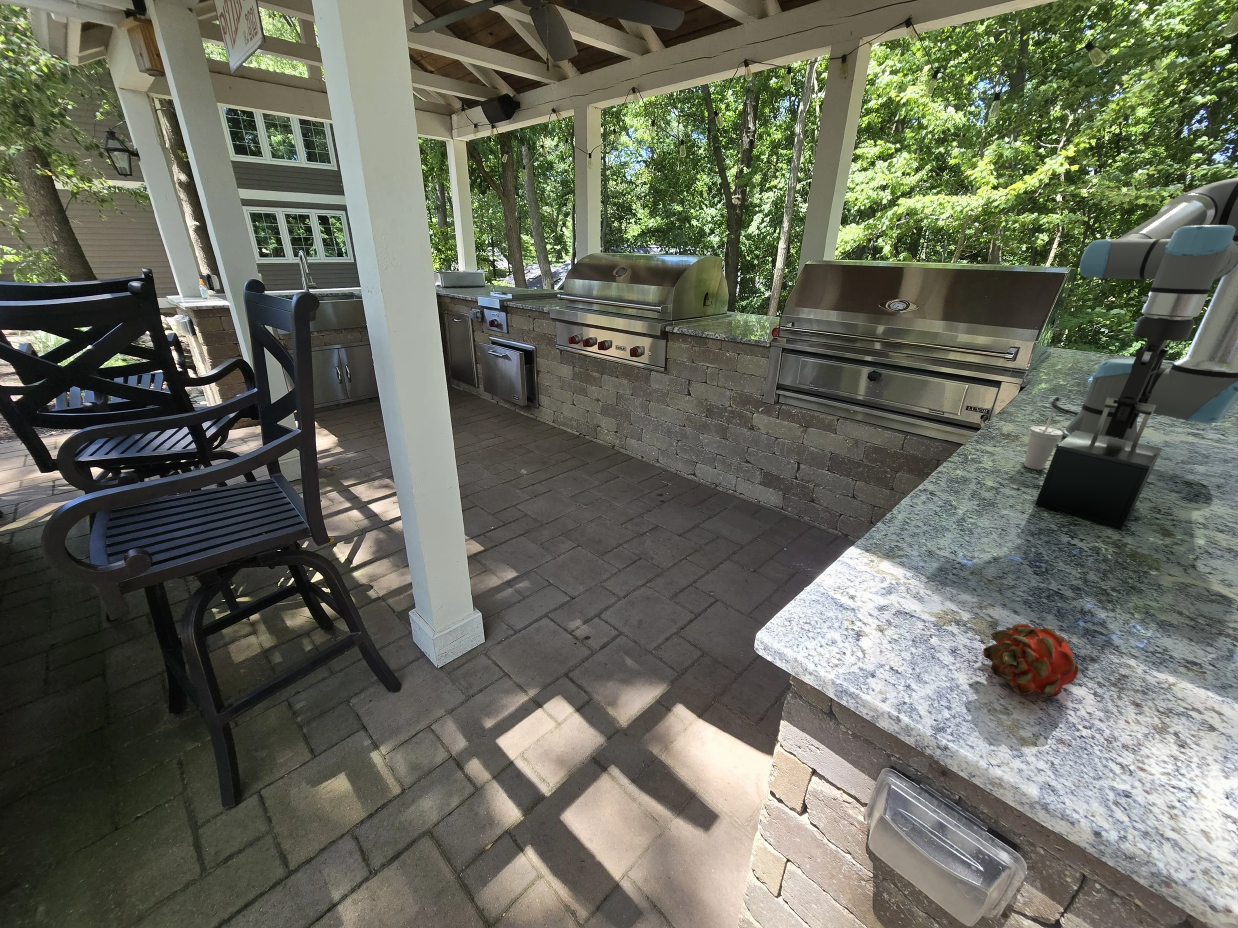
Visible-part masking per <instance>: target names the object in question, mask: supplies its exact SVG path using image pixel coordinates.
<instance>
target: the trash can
mask: <svg viewBox="0 0 1238 928" xmlns="http://www.w3.org/2000/svg"><path fill="white" fill-rule="evenodd" d="M1054 450H1055V451H1054V453H1053V456H1052V459H1051V460H1050V464H1049V467H1048V469H1047V471H1046V475H1045V476H1044V480H1043V482H1042V485H1041V487H1040V490H1039V493H1038V495H1037V498H1036V501H1035V502H1034V503H1035V506H1039V507H1042V508H1044V509H1048V510H1052V511H1055V512H1057V513H1061V514H1065V515H1068V516H1072V517H1076V518H1078V519H1082V520H1084V521H1088V522H1091V523H1095V524H1098V525H1102V526H1104V527H1108V528H1111V529H1115V530H1118V531H1122V529H1123V528H1124V526H1125V525H1126V522H1127V521H1128V520H1129V518H1130V517H1131V514H1132V512H1133V511H1134V509H1135V507H1136V505H1137V503H1138V501H1139V499H1140V496H1141V494H1142V492H1143V490H1144V488H1145V486H1146V484H1147V482H1148V480H1149V478H1150V475H1151V473H1152V471H1153V469H1154V468H1155V467H1154V466H1155V465H1156V463H1157V460H1158V459H1159V456H1160V454H1159V455H1158V457H1157V458H1156V460H1155V461H1154V463H1153V464H1152V466H1151V468H1150V469H1149V470H1147V469H1142V468H1138V467H1134V466H1129V465H1125V464H1121V463H1116V462H1112V461H1108V460H1103V459H1099V458H1095V457H1090V456H1086V455H1082V454H1077V453H1073V452H1069V451H1064V450H1060V449H1054Z"/></svg>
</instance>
